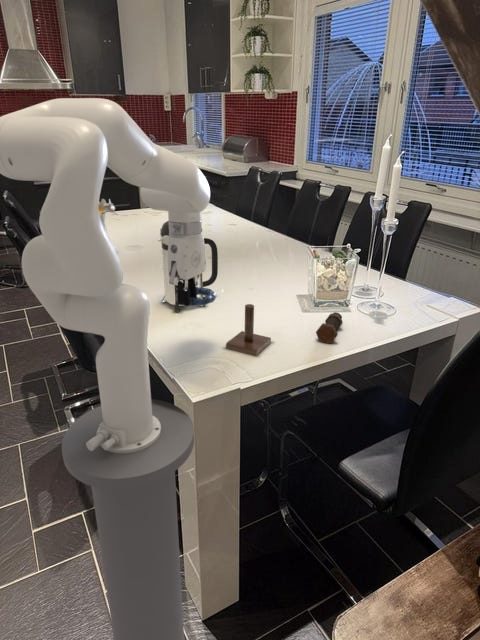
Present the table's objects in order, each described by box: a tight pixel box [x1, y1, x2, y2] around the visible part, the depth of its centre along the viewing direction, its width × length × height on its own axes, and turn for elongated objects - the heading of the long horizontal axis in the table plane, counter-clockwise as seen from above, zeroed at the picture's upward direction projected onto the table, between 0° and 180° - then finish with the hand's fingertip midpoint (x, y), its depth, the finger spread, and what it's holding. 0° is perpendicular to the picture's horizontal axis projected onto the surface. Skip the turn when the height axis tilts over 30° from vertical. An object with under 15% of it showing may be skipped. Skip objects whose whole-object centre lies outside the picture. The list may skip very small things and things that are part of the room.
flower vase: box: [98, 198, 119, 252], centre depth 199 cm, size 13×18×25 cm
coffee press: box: [157, 220, 219, 313], centre depth 148 cm, size 17×16×30 cm
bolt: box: [315, 311, 344, 344], centre depth 133 cm, size 6×5×15 cm
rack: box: [225, 303, 272, 357], centre depth 123 cm, size 9×9×12 cm
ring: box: [175, 287, 217, 307], centre depth 117 cm, size 10×10×2 cm
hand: (187, 302), depth 114 cm, fingers closed on ring, 2 cm apart
